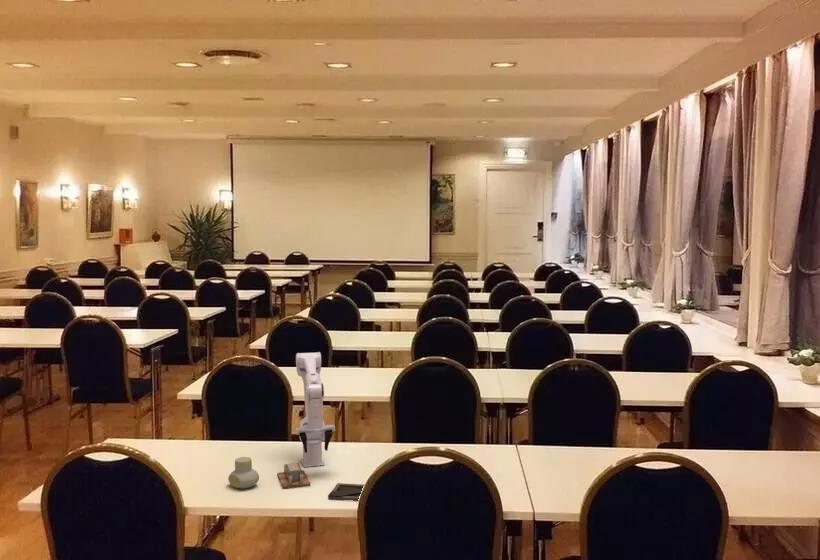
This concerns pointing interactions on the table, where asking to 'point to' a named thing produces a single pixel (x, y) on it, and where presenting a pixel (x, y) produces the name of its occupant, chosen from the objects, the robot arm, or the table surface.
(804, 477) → the table surface
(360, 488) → the picture frame
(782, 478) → the table surface
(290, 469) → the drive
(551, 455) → the table surface
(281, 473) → the pegged wooden board
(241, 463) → the air freshener
